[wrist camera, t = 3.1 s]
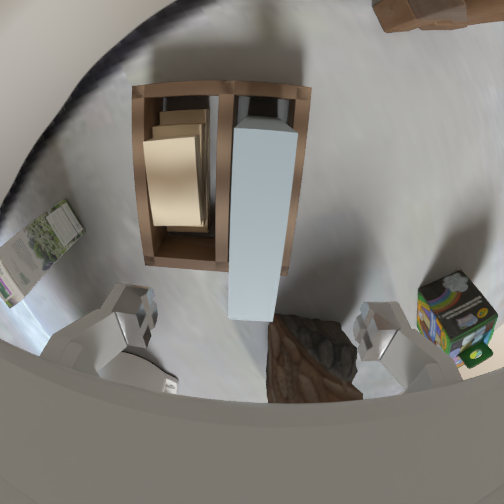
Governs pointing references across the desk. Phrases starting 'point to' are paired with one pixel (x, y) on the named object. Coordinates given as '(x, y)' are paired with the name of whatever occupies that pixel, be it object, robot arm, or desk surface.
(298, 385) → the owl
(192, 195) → the short pine offcut
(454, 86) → the desk surface
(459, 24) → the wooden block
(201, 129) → the middle pine offcut
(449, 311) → the chalk box
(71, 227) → the syrup box
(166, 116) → the long pine offcut
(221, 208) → the walnut rack
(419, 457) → the robot arm
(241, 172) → the tall sheet
